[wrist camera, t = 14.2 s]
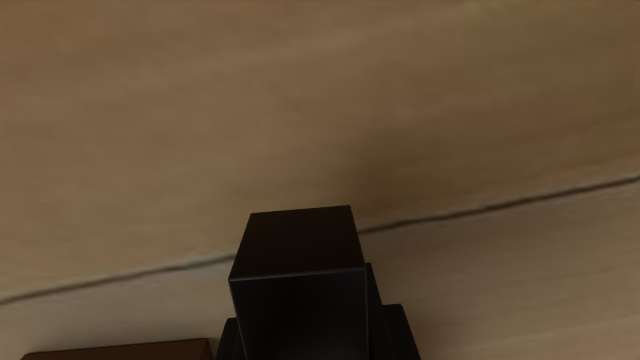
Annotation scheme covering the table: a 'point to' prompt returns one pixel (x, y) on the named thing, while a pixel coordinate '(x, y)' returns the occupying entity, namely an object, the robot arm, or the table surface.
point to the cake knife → (301, 286)
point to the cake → (134, 352)
